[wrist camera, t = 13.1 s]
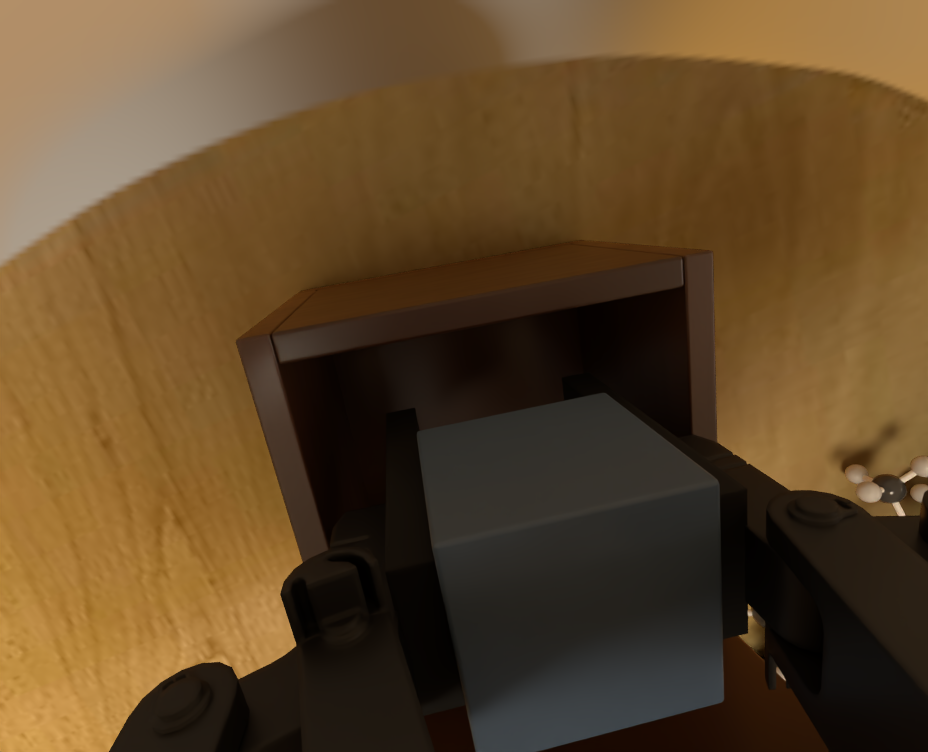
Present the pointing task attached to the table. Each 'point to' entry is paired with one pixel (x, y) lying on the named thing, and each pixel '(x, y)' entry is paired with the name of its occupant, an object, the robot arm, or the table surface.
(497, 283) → the chest
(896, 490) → the molecule model
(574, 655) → the block
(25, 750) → the table surface
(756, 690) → the lid
